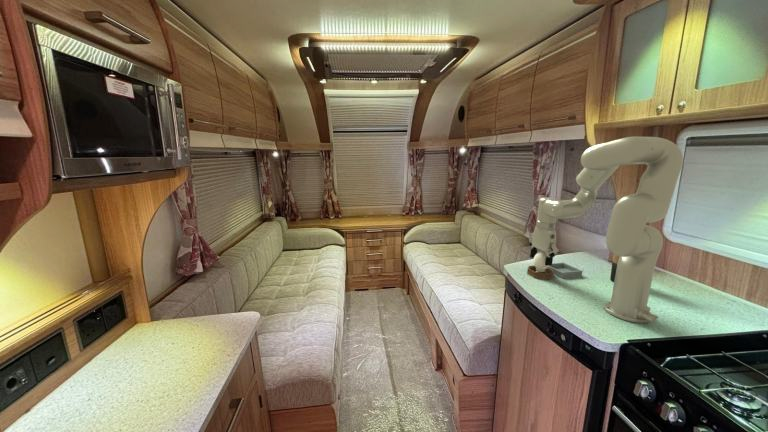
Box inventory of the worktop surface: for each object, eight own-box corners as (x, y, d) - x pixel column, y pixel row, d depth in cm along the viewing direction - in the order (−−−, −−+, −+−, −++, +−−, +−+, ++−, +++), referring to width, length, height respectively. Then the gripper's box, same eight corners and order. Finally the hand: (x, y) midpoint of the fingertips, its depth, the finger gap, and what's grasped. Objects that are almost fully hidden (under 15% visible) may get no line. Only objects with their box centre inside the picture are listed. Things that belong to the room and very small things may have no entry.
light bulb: (551, 276, 135) (554, 253, 133) (541, 278, 132) (544, 255, 130) (538, 270, 141) (541, 249, 139) (528, 273, 138) (531, 250, 136)
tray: (581, 276, 135) (582, 270, 134) (561, 278, 133) (562, 272, 132) (562, 267, 145) (563, 262, 145) (543, 269, 143) (544, 264, 143)
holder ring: (558, 278, 133) (559, 273, 132) (538, 280, 130) (539, 274, 130) (541, 269, 143) (542, 264, 142) (522, 271, 140) (523, 266, 140)
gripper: (568, 230, 124) (562, 267, 128) (539, 220, 141) (534, 254, 145) (553, 230, 123) (547, 269, 127) (525, 221, 139) (521, 255, 143)
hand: (540, 261), depth 136 cm, fingers open, 9 cm apart
